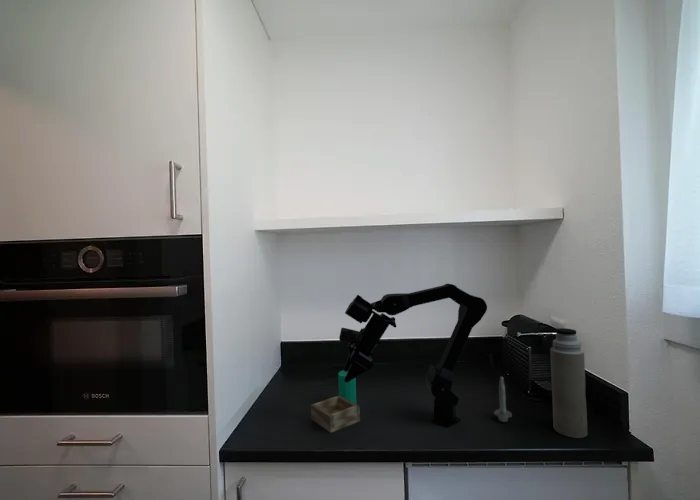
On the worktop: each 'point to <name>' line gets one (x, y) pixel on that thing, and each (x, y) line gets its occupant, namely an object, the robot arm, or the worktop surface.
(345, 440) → the worktop surface
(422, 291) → the robot arm
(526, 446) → the worktop surface
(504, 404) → the screw
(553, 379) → the thermos bottle
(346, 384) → the candle
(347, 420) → the candle holder
